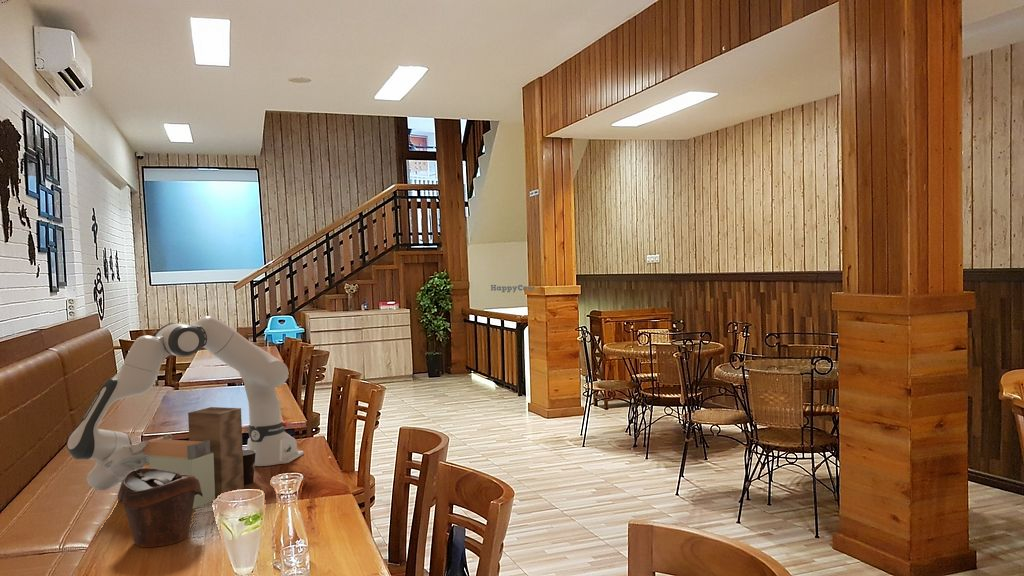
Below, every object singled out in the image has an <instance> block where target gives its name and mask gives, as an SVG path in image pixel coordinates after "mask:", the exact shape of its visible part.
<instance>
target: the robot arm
mask: <svg viewBox="0 0 1024 576" xmlns="http://www.w3.org/2000/svg"><path fill="white" fill-rule="evenodd" d="M132 343H133V344H132V345H131V347H130V348H129V350H128V352H127V355H126V357H125V358H124V360H123V363H122V365H121V367H120V369H119V371H117V373H116V374H115V375H114V376H113V377H111V378H108V379H107V380H105V381H104V382H103V384H102V385H101V386H100V388H99V390H98V391H97V393H96V395H95V396H94V397H93V400H92V402H91V403H90V405H89V406H88V408H87V410H86V411H85V412H84V415H83V416H82V418H81V420H80V421H79V423H78V424H77V425H76V427H75V428H74V429H73V431H71V433H70V435H69V437H68V438H67V442H66V449H67V451H68V453H69V454H70V455H71V457H72V458H74V459H75V460H94V461H96V462H95V465H94V467H92V469H91V470H90V471H89V472H88V474H87V476H86V481H87V485H89V486H90V487H91V488H92V489H94V490H96V491H101V492H102V491H107V490H110V489H112V488H114V487H116V486H118V485H119V484H121V482H122V480H123V479H124V477H125V476H126V475H127V474H128V473H129V472H131V471H133V470H136V469H141V468H144V467H146V466H149V457H152V456H155V455H144V454H145V451H143V448H145V447H147V446H148V445H149V443H148V441H147V440H143V441H140V442H139V443H136V444H133V443H132V440H131V438H130V436H129V435H128V434H127V433H126V432H121V431H116V430H109V429H102V428H99V426H100V424H101V422H102V421H103V419H104V417H105V415H106V414H107V412H108V411H109V409H110V407H111V406H112V404H114V403H115V402H116V401H118V400H121V399H125V398H129V397H135V396H140V395H142V394H145V393H147V392H148V391H150V390H151V389H152V388H153V387H154V385H155V382H156V381H157V378H158V375H159V373H160V370H161V366H162V364H163V363H164V361H165V360H166V358H168V357H169V356H175V357H182V358H183V357H185V358H186V357H189V356H192V355H194V354H196V353H197V352H199V350H201V349H202V348H203V349H205V350H207V352H209V353H211V354H212V355H213V356H215V357H216V358H217V359H219V360H220V361H222V362H223V363H224V364H226V365H227V366H229V367H230V368H232V369H234V370H236V371H237V372H239V376H240V377H241V379H242V382H243V384H244V388H245V394H246V398H247V401H248V402H247V403H248V413H249V414H248V415H249V424H248V429H247V430H248V436H249V438H248V439H247V445H246V450H255V451H256V455H255V467H267V466H274V465H280V464H281V465H282V464H283V465H285V464H289V463H290V462H292V461H294V460H296V459H297V458H300V457H301V456H303V455H305V452H304V451H303V450H301V449H298V445H297V444H298V443H297V439H296V438H294V437H293V436H291V435H290V434H289V433H287V432H286V431H285V428H288V427H289V422H288V421H282V413H281V400H280V397H278V394H277V391H276V388H277V387H281V386H282V385H284V384H285V383H286V382H287V380H288V377H289V368H288V365H286V363H285V362H284V361H282V360H280V359H278V358H277V357H276V356H274V355H273V354H271V353H269V352H268V351H266V350H265V349H263V348H261V347H260V346H258V345H256V344H255V343H252V342H251V341H250V340H248V339H247V338H245V337H244V335H242V334H240V333H239V332H238V331H236V330H235V329H234V328H232V327H231V326H230V325H228V324H227V323H225V322H223V321H222V320H220V319H218V318H216V317H214V316H211V315H205V316H203V317H201V318H199V319H198V320H197V321H196V322H195V323H194V324H192V325H191V324H187V323H186V324H185V323H180V322H179V323H175V322H174V323H173V322H172V323H168V324H165V325H163V326H162V327H160V328H159V329H158V330H157V331H156V332H155V333H154V334H152V335H147V334H146V335H141V336H139V337H137V338H136V339H135V340H134V342H132ZM173 438H174V437H173V435H172V434H171V433H167V434H165V435H164V436H162V437H161V436H160V437H158V438H156V439H166V440H173Z"/></svg>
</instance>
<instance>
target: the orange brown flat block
mask: <svg viewBox="0 0 1024 576" xmlns="http://www.w3.org/2000/svg"><path fill="white" fill-rule="evenodd" d="M147 441H148V443H149V445H148V446H147V447H145V448H143V451H145V454H144V455H157V456H173V457H188V459H189V460H191V459H194V458H197V457H200V456H203V455H206V454H209V453H210V440H205V441H189V440H182V439H181V440H179V439H172V440H166V439H157V438H152V439H148V440H147Z"/></svg>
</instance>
